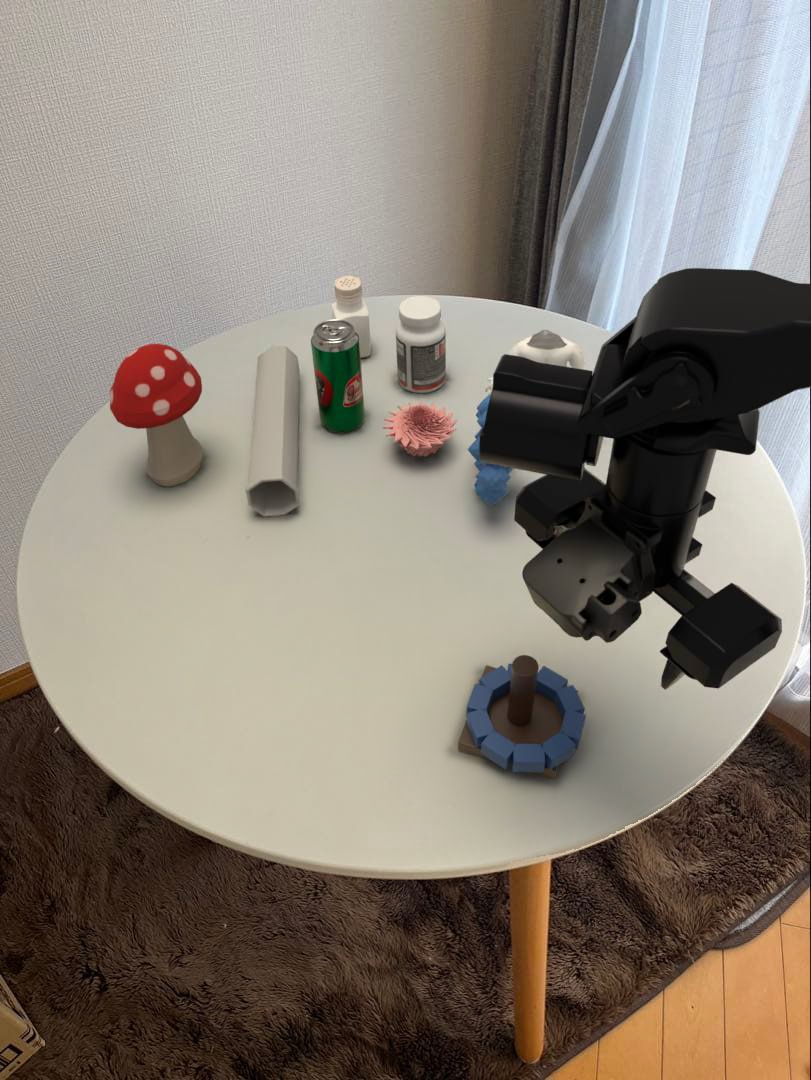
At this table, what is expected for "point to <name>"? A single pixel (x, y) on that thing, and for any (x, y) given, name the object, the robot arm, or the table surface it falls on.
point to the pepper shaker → (353, 309)
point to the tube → (275, 434)
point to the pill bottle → (421, 345)
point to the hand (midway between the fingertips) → (620, 642)
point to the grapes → (488, 466)
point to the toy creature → (547, 351)
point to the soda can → (338, 375)
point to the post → (520, 712)
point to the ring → (525, 754)
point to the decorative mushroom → (160, 409)
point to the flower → (421, 428)
